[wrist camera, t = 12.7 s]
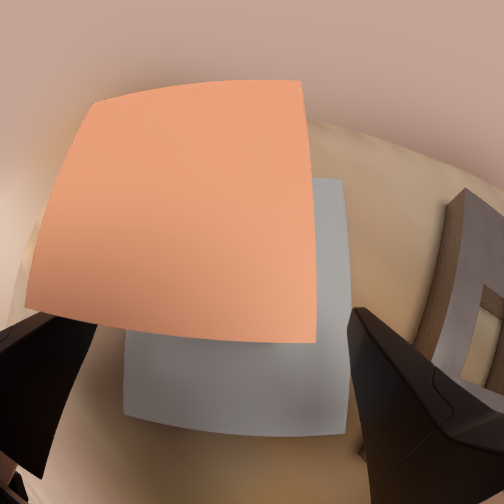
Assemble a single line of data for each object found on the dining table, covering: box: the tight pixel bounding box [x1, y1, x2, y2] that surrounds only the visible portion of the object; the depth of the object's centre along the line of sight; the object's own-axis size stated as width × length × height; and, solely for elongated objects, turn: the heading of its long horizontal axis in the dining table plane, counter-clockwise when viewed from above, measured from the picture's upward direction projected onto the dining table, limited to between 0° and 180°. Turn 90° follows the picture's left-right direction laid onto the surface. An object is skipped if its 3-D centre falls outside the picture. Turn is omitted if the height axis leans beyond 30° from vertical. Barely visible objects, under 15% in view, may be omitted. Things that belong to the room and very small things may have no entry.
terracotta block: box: [25, 80, 317, 343], centre depth 10 cm, size 5×5×12 cm
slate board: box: [123, 178, 351, 437], centre depth 16 cm, size 17×14×1 cm
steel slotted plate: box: [359, 188, 504, 463], centre depth 13 cm, size 20×12×3 cm, turn 152°
